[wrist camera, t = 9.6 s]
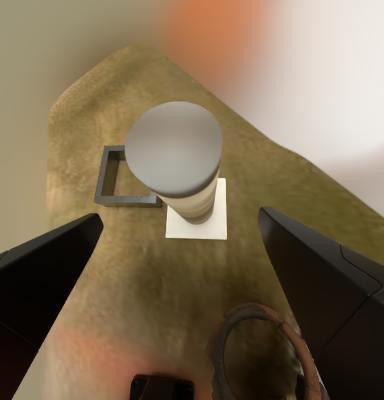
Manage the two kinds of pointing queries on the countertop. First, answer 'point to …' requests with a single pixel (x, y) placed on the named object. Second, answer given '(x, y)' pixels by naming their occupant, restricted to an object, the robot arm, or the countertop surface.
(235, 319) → the pottery mug
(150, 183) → the beige cylinder grey cap
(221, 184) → the off-white pad
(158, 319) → the countertop surface
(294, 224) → the robot arm
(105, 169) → the metal holder
